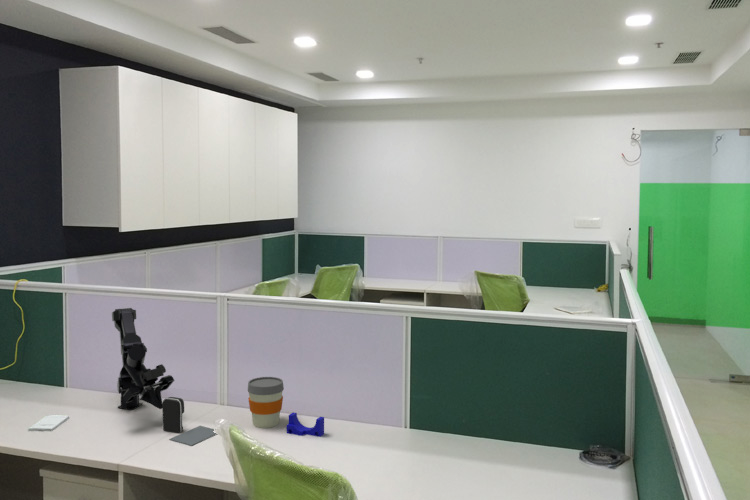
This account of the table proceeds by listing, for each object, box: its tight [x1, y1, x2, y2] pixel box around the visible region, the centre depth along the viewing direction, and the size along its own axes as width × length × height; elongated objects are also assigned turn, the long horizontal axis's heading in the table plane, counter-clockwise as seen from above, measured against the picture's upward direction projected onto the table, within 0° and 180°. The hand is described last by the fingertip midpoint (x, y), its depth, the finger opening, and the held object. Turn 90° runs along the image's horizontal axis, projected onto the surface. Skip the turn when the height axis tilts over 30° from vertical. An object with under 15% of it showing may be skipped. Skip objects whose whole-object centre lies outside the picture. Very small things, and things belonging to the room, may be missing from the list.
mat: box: [168, 425, 217, 447], centre depth 221 cm, size 10×14×1 cm
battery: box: [161, 396, 185, 433], centre depth 225 cm, size 7×4×11 cm, turn 72°
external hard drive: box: [27, 414, 70, 432], centre depth 230 cm, size 2×8×12 cm
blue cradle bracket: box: [286, 412, 325, 438], centre depth 224 cm, size 12×4×6 cm, turn 68°
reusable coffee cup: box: [247, 376, 284, 429], centre depth 233 cm, size 13×13×15 cm
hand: (161, 408), depth 228 cm, fingers closed
